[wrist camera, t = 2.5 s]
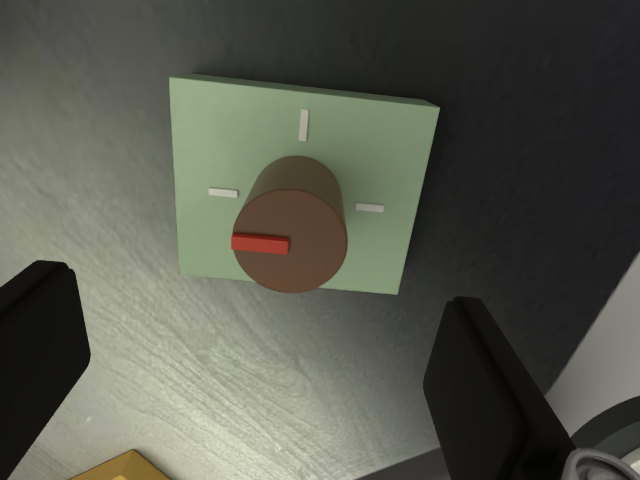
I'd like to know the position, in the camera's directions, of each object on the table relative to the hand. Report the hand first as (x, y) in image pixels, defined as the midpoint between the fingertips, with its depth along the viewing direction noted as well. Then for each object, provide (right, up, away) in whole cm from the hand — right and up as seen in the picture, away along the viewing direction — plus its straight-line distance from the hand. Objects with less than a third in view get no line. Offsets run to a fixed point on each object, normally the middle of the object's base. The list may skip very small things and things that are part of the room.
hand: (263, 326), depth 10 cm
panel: (0, +6, +12) cm, 13 cm away
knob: (0, +4, +9) cm, 10 cm away
